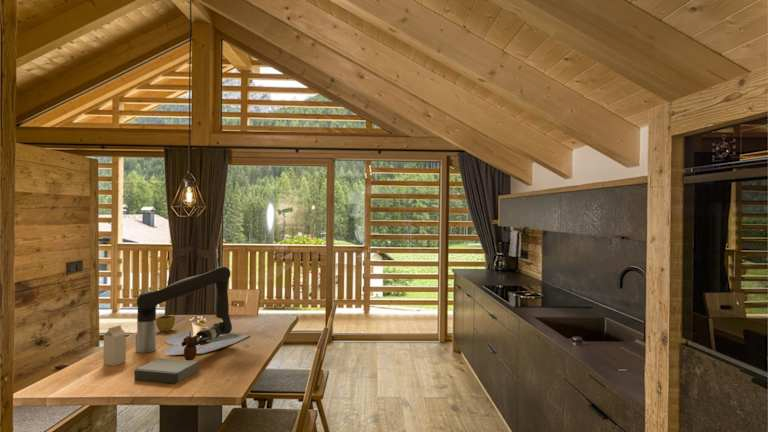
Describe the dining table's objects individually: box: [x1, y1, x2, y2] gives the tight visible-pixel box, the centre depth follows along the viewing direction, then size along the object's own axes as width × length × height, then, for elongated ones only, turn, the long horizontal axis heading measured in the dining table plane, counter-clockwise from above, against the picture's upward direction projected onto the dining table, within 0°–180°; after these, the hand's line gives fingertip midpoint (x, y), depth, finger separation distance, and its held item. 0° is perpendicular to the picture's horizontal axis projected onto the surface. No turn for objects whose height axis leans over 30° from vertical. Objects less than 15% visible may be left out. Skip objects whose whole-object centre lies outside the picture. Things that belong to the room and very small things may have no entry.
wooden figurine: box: [183, 332, 197, 361], centre depth 241 cm, size 7×6×15 cm
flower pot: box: [156, 314, 176, 333], centre depth 303 cm, size 9×9×9 cm
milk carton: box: [103, 324, 127, 367], centre depth 239 cm, size 7×7×19 cm
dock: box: [133, 357, 200, 385], centre depth 222 cm, size 22×17×5 cm
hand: (187, 344), depth 238 cm, fingers closed on wooden figurine, 4 cm apart
